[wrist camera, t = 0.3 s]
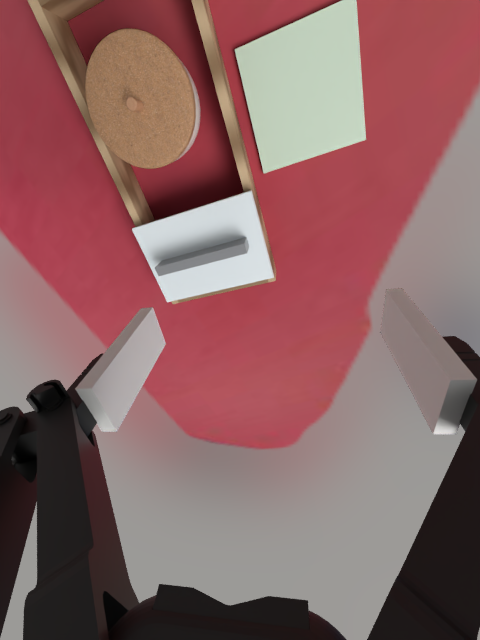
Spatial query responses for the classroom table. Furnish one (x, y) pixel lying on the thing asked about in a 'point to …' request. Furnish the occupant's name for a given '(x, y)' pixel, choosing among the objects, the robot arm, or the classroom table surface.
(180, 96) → the lidded jar
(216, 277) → the lid
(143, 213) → the wooden rectangular frame
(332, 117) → the mat
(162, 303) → the classroom table surface
